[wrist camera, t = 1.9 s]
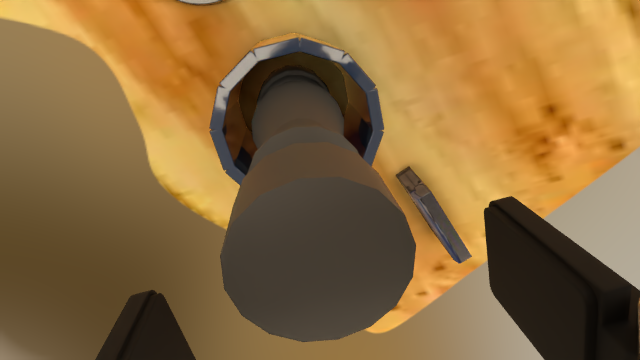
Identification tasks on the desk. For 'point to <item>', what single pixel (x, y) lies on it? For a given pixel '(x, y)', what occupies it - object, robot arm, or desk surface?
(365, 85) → the crock
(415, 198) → the mini dv tape
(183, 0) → the coaster
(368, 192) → the candle holder
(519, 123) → the desk surface
